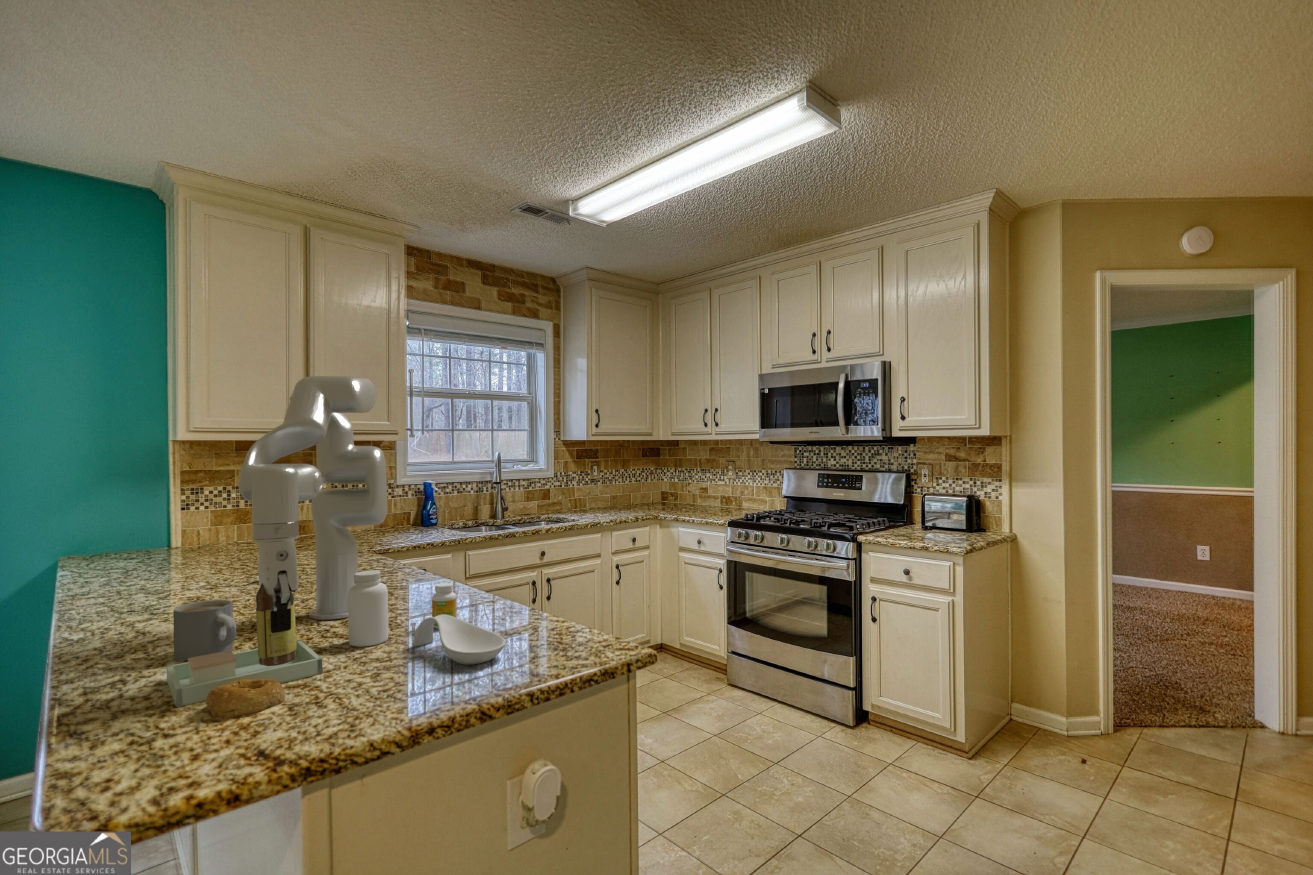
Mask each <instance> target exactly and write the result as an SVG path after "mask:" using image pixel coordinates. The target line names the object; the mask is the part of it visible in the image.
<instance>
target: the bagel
mask: <svg viewBox="0 0 1313 875" xmlns="http://www.w3.org/2000/svg"><path fill="white" fill-rule="evenodd" d="M285 700H286V691H285V688H284V687H283V685H282V683H279V682H278V681H275V680H271V679H265V680H263V679H256V680H251V679H242V680H239V681H232V682H229V683H227V684H224V685H221V686H218V687H216V688H214V689H212V690H211V691H210V692H209V694H208V695H207V699H206V700H205V705H206V709H207V710H208V711H210V714H211V715H212V716H214V717H220V718H233V717H238V718H237V719H240V718H239V717H240V716H243V717H241V719H243V718H249V717H253V716H256V715H259V714H260V713H261V712H263V711H265V710H267V709H268V708H269V709H270V708H272V707H275V706H278V705H280V704H282V703H284V702H285ZM249 714H250V715H249Z"/></svg>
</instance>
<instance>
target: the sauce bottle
mask: <svg viewBox="0 0 1313 875" xmlns="http://www.w3.org/2000/svg"><path fill="white" fill-rule="evenodd" d="M280 556H282V555H281V554H280ZM288 585H289V584H288ZM289 591H290V604H291V629H290V630H288V631H283V632H277V633H272V632H271V612H270V611H273V609H272V599H271V595H269V594H267V593H266V590H265V588H264V586H263V583H262V584H261V587H260V586H259V589H258V590H257V592H256V596H255V601H256V602H255V603H256V609H255V616H256V617H255V618H256V634H257V635H256V640H257V649H258V657H259V663H260V665H265V666H276V665H282V664H285V663H288V662H290V661H292V660H294V659H295V657H296V648H297V647H296V641H297V626H296V609H295V608H296V607H295V596H294V594H293V592H292V591H291V590H290V589H289ZM275 593H280V590H277V591H275ZM278 598H279V597H276V603H277V599H278Z"/></svg>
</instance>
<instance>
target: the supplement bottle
mask: <svg viewBox="0 0 1313 875" xmlns="http://www.w3.org/2000/svg"><path fill="white" fill-rule="evenodd" d="M453 590H454V584H453V583H452V582H441V583H436V584H435V585H434V592H435V593H434V594H432V597H431V617H436V616H438V615H442V614H446V615H450V616H453V617H456V618H457V594H456V593H455V592H454V591H453ZM433 629H438V630H439V628H438V625H437V623H436V622H435V624H434V627H433Z"/></svg>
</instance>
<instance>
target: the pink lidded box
mask: <svg viewBox="0 0 1313 875" xmlns="http://www.w3.org/2000/svg"><path fill="white" fill-rule="evenodd" d="M233 653H234V652H233V650H232V651H231V650H229V651H223V652H218V653H213V654H208V655H202V656H197V657H192V658H188V660H187V662H188V663H189V684H190V686H191V685H196V684H200V683H205V682H210V681H214V680H219V679H224V678H228V677H233V676H235V662H237V658H236V657H235V655H234V654H233Z"/></svg>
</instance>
